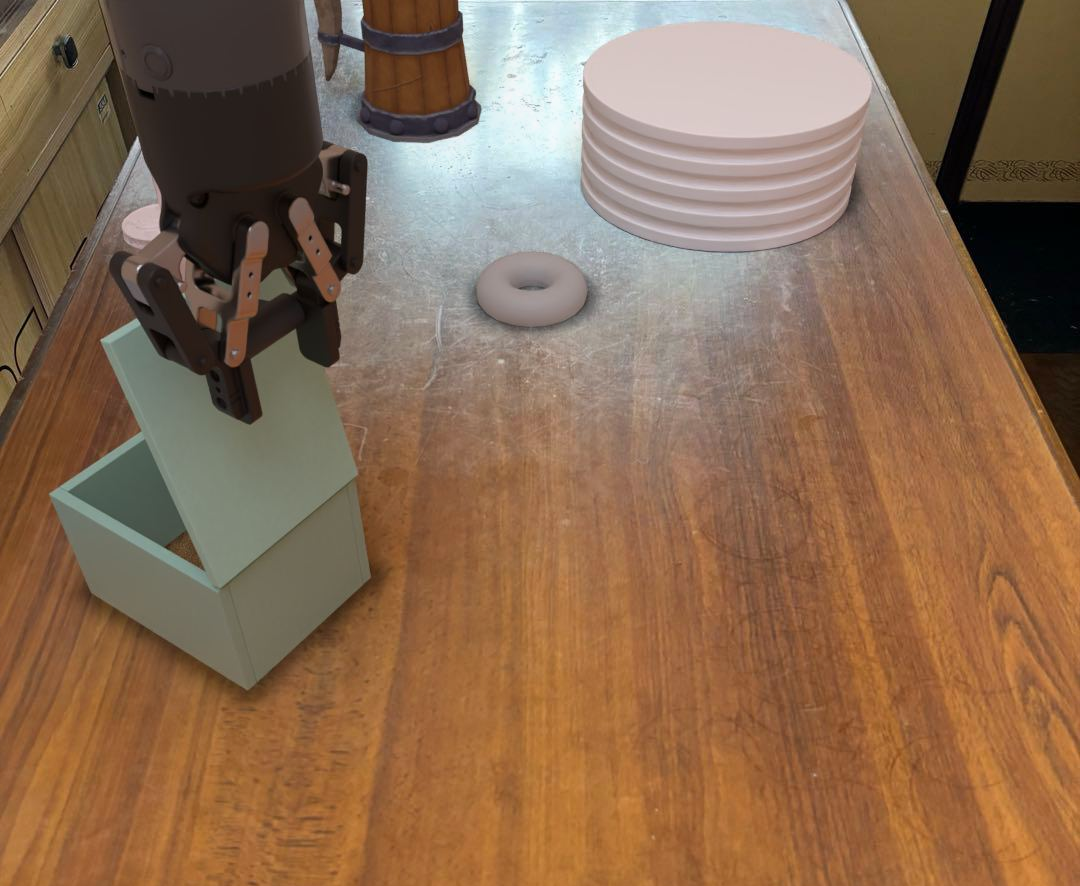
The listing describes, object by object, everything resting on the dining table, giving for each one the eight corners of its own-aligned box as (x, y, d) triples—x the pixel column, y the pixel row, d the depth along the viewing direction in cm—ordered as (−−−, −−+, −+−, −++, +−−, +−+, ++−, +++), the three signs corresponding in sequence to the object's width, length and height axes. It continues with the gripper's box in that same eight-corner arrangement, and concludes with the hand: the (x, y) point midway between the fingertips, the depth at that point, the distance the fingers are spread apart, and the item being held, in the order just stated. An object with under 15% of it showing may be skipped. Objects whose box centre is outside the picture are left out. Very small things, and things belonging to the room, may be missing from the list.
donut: (456, 299, 101) (515, 349, 95) (454, 265, 98) (514, 315, 92) (547, 267, 105) (609, 314, 98) (547, 233, 102) (610, 279, 96)
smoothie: (237, 319, 98) (203, 170, 88) (174, 349, 95) (131, 198, 85) (198, 291, 101) (161, 145, 92) (136, 319, 98) (90, 170, 88)
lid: (98, 339, 52) (163, 356, 49) (273, 236, 59) (337, 246, 56) (211, 585, 61) (270, 609, 59) (349, 471, 68) (408, 489, 65)
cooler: (94, 601, 74) (48, 493, 67) (220, 504, 81) (190, 397, 74) (250, 699, 68) (217, 592, 61) (372, 586, 75) (355, 478, 68)
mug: (297, 127, 126) (266, -65, 112) (351, 78, 136) (329, -104, 122) (455, 150, 122) (443, -46, 108) (499, 98, 132) (493, -88, 117)
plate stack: (589, 255, 106) (593, 139, 98) (573, 128, 126) (575, 23, 118) (879, 249, 106) (906, 134, 98) (817, 123, 126) (836, 19, 118)
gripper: (272, -26, 50) (323, 300, 62) (1, 82, 41) (121, 435, 53) (402, 9, 47) (428, 344, 59) (138, 133, 38) (232, 494, 50)
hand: (282, 386), depth 56 cm, fingers closed on lid, 5 cm apart
